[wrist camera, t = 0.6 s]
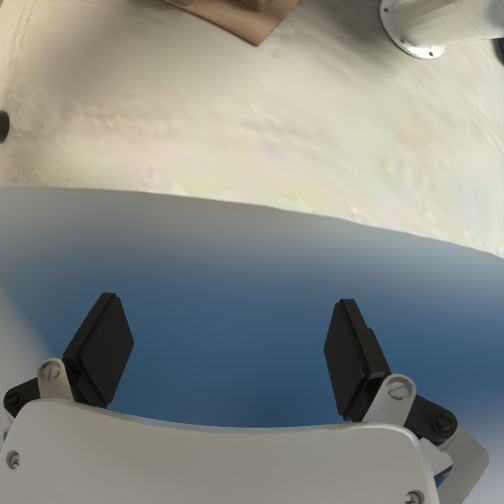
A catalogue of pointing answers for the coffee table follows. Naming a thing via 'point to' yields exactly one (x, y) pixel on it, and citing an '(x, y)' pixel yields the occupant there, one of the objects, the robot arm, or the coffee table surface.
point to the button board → (241, 14)
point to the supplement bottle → (3, 125)
